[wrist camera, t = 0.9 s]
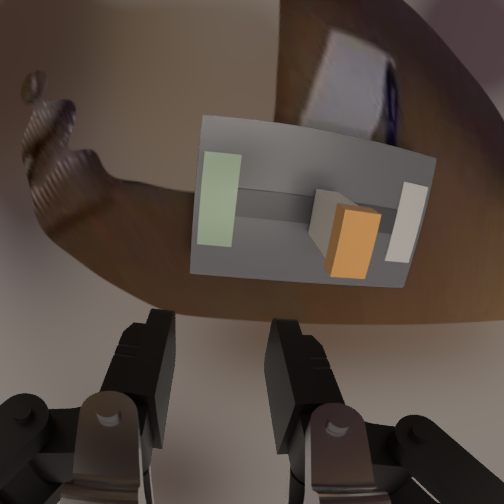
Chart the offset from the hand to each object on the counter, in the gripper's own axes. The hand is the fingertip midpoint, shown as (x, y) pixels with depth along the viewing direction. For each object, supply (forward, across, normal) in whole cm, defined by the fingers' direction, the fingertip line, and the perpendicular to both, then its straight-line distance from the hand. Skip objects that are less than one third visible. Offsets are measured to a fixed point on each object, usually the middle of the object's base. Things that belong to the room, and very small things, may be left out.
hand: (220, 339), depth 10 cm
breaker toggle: (+18, -8, 0) cm, 20 cm away
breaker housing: (+23, -8, 0) cm, 25 cm away
